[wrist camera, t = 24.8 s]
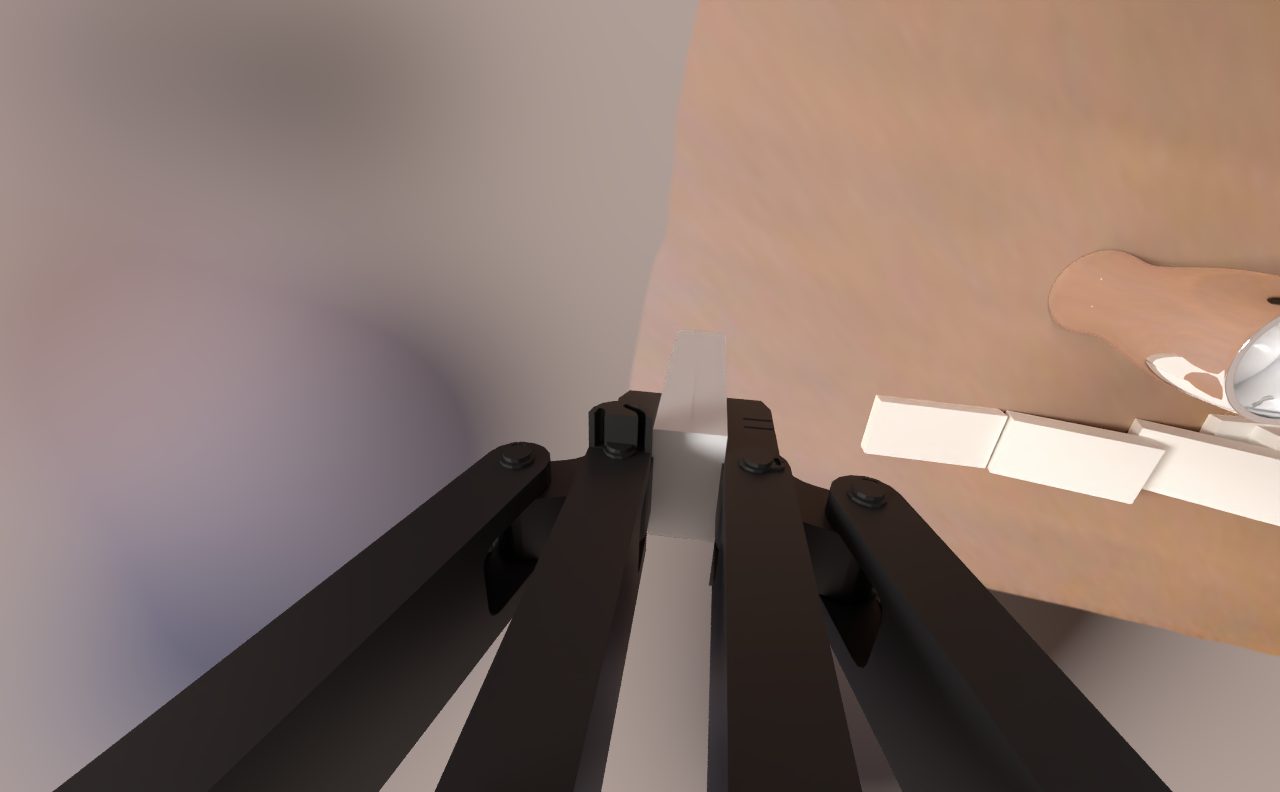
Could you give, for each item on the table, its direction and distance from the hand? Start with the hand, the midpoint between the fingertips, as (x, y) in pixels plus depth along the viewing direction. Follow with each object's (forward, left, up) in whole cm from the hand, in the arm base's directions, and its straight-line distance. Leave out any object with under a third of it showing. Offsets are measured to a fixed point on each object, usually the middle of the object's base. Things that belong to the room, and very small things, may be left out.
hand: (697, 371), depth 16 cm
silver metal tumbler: (-24, +16, -26) cm, 39 cm away
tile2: (-15, +25, -25) cm, 38 cm away
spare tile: (-7, +20, -25) cm, 33 cm away
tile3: (-24, +30, -25) cm, 46 cm away
